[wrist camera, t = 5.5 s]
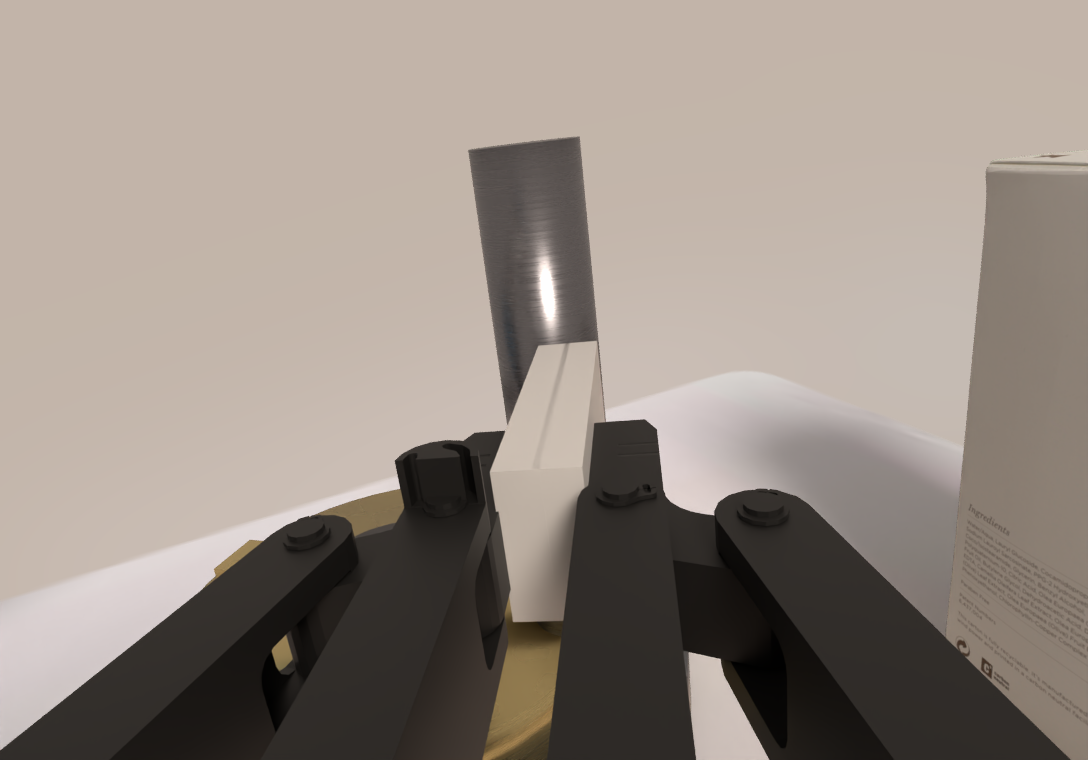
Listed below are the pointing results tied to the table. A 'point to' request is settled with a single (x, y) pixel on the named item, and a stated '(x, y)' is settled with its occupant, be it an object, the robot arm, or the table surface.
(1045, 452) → the skincare box
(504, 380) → the brass disc with post
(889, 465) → the table surface
